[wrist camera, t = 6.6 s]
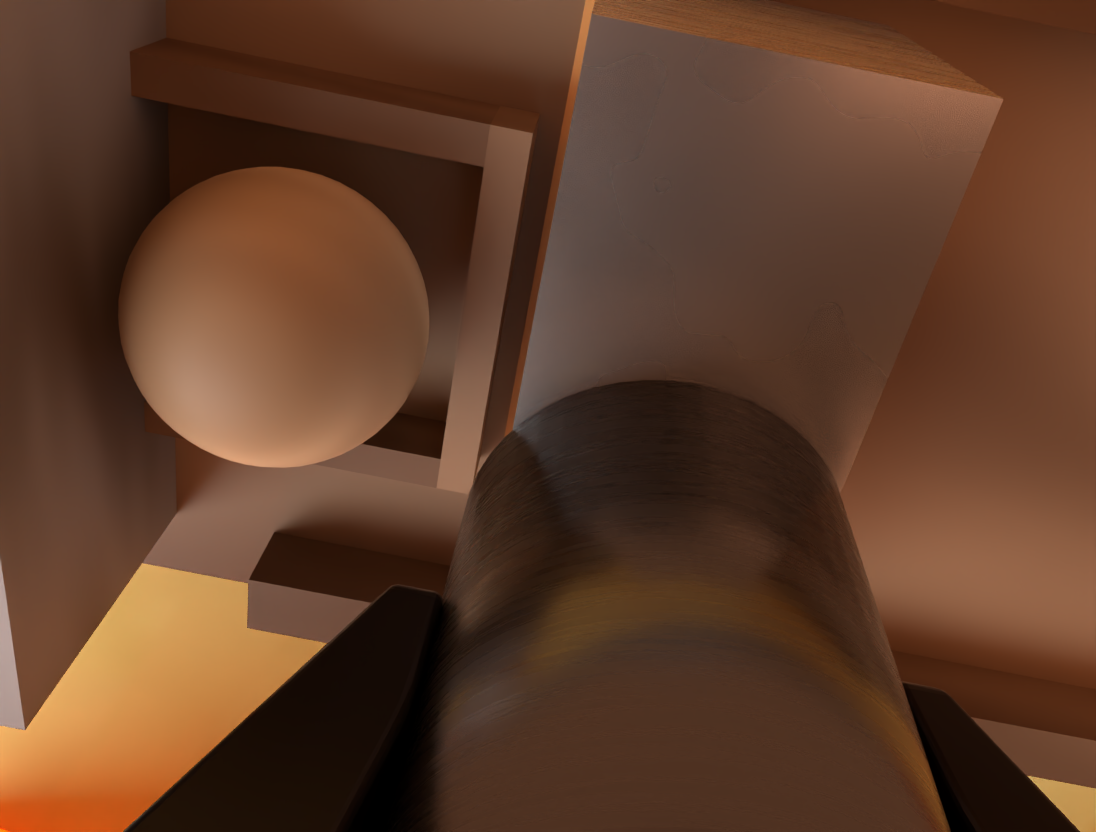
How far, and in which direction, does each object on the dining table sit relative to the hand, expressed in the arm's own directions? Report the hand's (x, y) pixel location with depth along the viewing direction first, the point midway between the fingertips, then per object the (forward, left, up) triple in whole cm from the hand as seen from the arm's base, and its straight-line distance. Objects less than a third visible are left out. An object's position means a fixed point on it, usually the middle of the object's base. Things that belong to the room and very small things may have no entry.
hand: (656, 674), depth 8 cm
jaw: (0, 0, -5) cm, 5 cm away
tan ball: (0, +5, -6) cm, 8 cm away
